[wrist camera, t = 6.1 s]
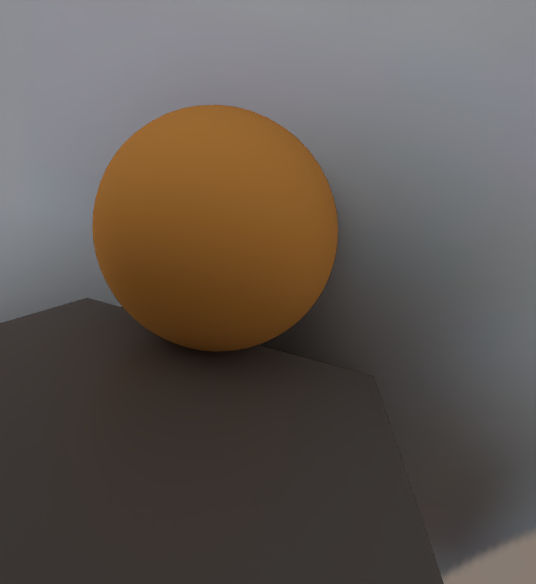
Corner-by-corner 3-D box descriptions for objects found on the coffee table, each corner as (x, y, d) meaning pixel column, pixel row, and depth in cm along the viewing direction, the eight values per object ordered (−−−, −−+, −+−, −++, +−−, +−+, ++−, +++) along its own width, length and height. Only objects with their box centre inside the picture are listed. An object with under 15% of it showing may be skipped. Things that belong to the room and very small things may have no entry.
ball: (310, 336, 10) (301, 432, 5) (152, 296, 11) (12, 351, 6) (354, 161, 9) (392, 82, 4) (177, 127, 10) (33, 22, 5)
